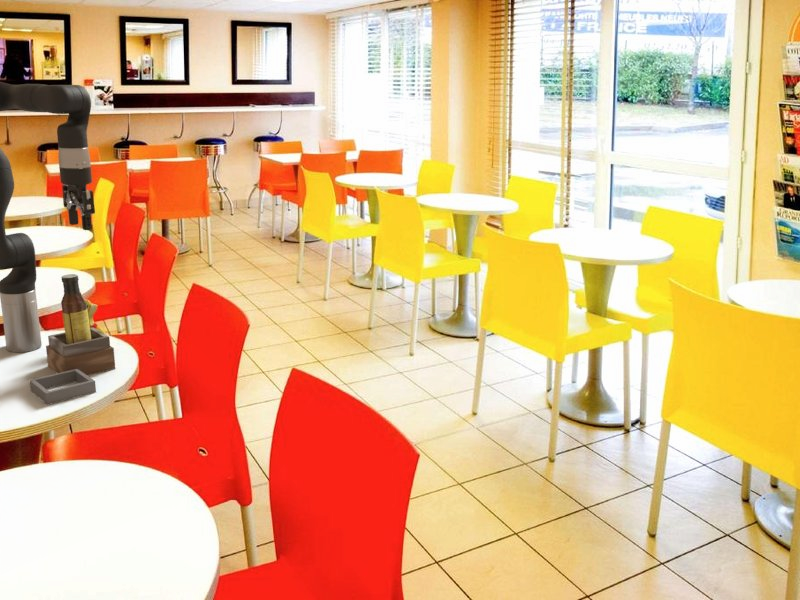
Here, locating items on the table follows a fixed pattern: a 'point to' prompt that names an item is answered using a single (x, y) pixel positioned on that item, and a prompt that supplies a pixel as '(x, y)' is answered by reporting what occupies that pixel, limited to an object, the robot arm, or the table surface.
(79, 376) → the low holder
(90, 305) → the chocolate bunny
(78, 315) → the sauce bottle
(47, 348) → the walnut dock
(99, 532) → the table surface
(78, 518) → the table surface
